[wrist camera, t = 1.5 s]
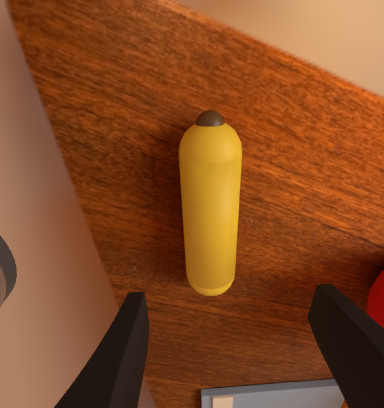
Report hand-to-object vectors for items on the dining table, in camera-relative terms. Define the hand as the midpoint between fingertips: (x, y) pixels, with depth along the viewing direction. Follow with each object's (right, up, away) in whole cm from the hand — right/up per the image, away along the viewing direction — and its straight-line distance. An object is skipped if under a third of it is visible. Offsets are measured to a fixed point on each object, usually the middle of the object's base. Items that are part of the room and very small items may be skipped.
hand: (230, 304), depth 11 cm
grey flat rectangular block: (+9, -23, +23) cm, 34 cm away
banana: (-1, +4, +7) cm, 9 cm away
